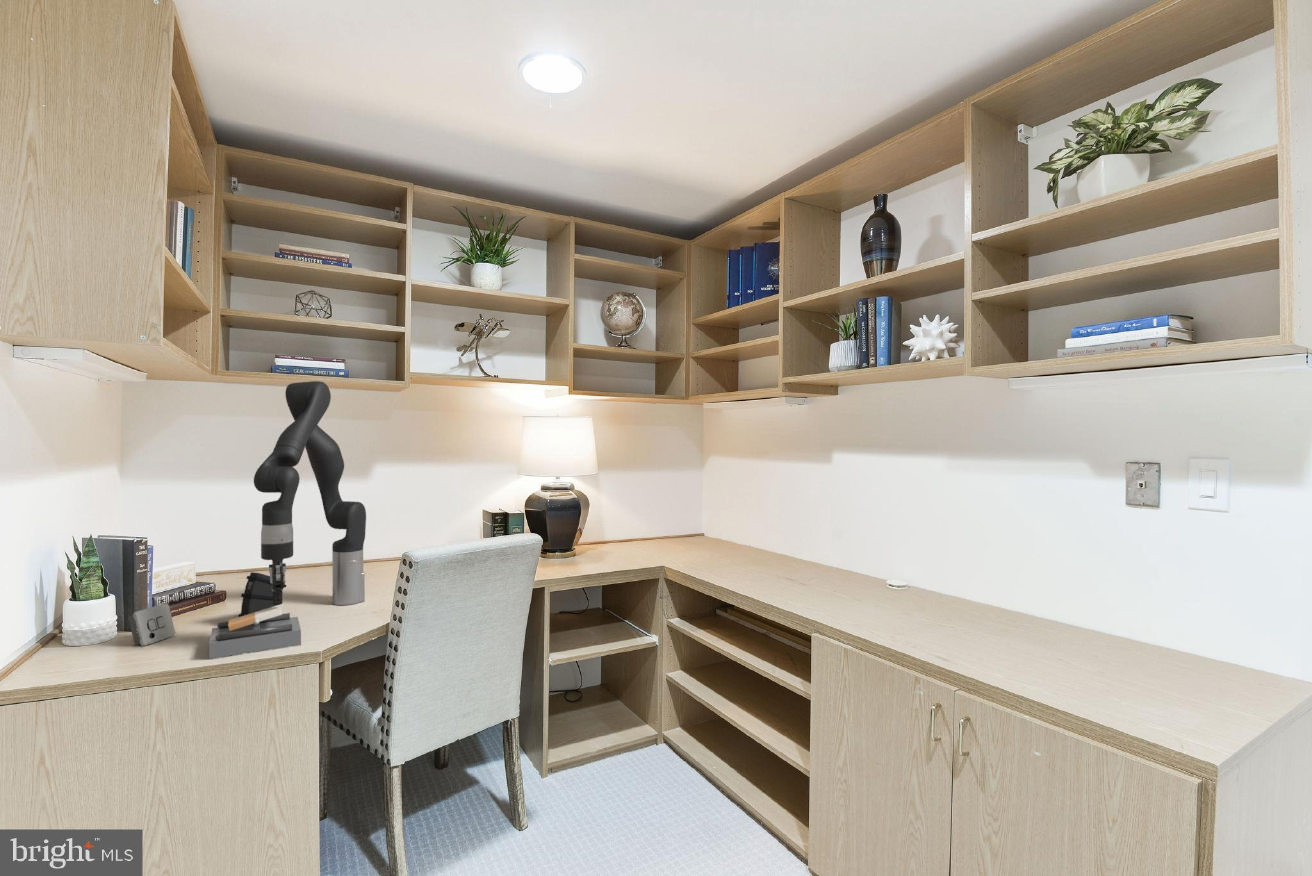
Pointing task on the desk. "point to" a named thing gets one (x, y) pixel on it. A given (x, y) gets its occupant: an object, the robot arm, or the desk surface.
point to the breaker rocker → (254, 617)
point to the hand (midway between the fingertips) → (277, 604)
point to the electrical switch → (152, 624)
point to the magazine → (257, 594)
